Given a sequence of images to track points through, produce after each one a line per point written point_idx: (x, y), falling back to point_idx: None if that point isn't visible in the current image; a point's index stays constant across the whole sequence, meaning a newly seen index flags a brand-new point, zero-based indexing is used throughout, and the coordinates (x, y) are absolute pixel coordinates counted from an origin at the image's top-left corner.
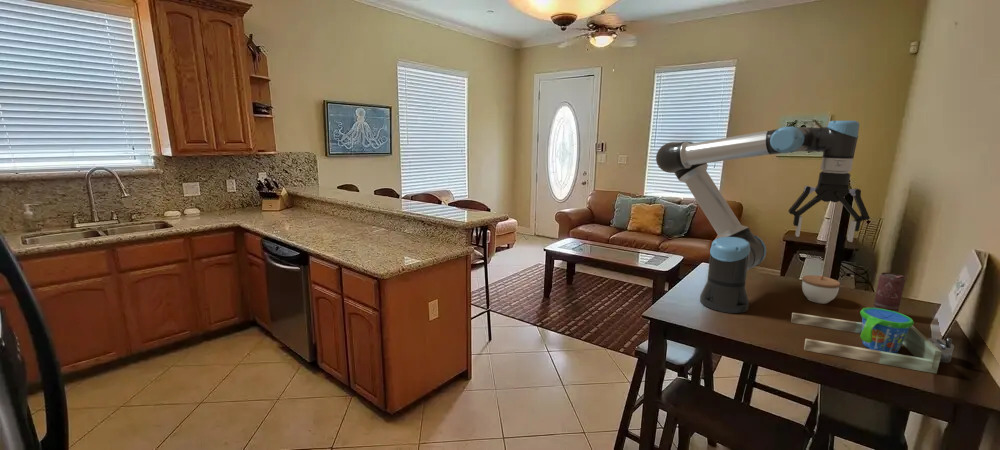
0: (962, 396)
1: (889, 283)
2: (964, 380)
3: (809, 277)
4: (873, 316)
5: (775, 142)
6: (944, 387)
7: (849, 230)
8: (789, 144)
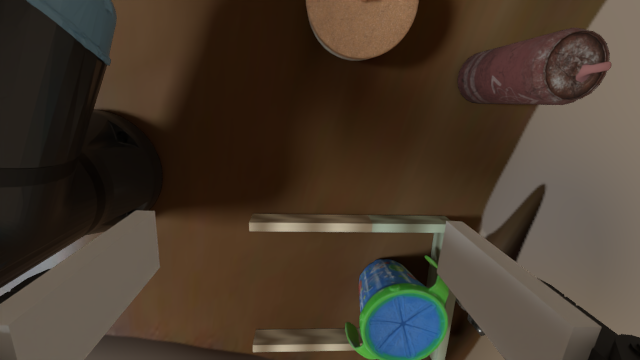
0: None
1: (534, 100)
2: (453, 337)
3: None
4: (374, 342)
5: None
6: None
7: (485, 272)
8: None
